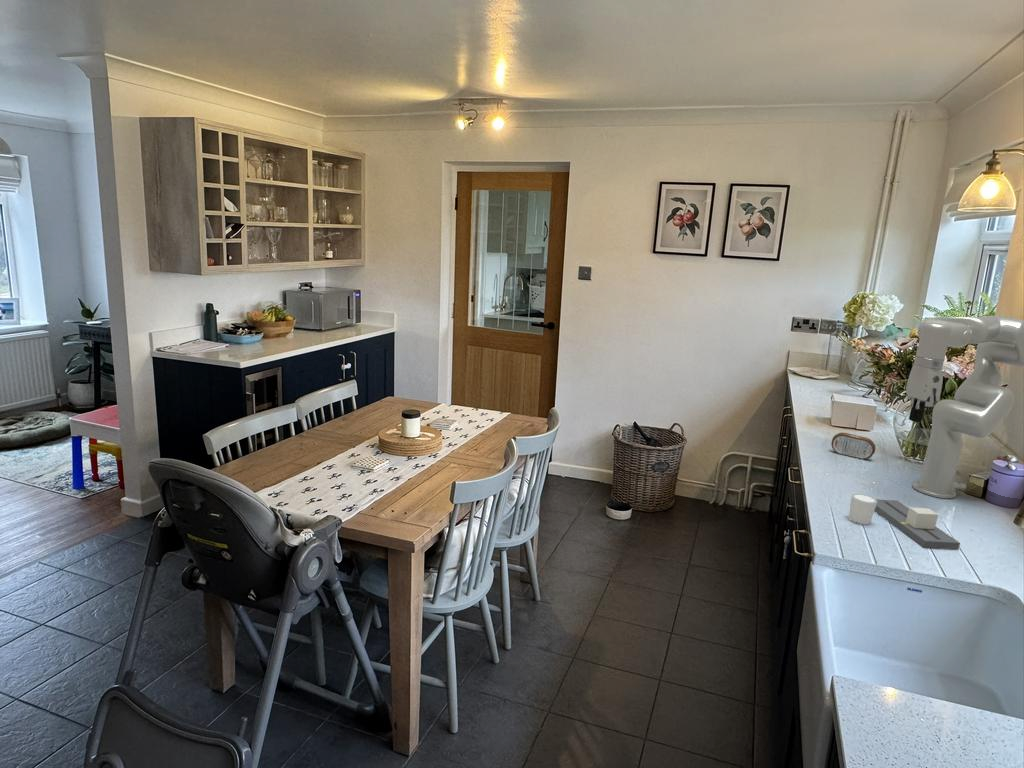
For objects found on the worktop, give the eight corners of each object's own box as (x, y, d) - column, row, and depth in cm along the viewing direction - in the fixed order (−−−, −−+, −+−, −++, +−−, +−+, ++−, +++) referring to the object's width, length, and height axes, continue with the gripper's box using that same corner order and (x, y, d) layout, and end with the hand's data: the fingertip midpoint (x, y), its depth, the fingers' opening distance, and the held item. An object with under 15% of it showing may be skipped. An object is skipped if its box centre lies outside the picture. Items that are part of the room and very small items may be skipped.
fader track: (865, 504, 212) (866, 498, 212) (895, 506, 213) (897, 500, 212) (923, 547, 185) (925, 540, 185) (958, 549, 186) (960, 542, 185)
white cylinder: (870, 518, 202) (875, 496, 200) (874, 527, 196) (879, 504, 194) (845, 513, 204) (850, 491, 202) (848, 522, 198) (853, 499, 196)
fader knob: (905, 521, 196) (909, 507, 195) (925, 522, 196) (929, 508, 195) (914, 528, 192) (918, 513, 191) (934, 529, 193) (938, 514, 192)
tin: (872, 460, 257) (877, 439, 255) (872, 462, 254) (876, 441, 252) (830, 450, 264) (834, 429, 262) (828, 452, 262) (833, 431, 260)
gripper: (957, 369, 200) (942, 429, 205) (924, 358, 214) (911, 414, 219) (933, 368, 199) (919, 427, 204) (901, 357, 214) (889, 413, 218)
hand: (915, 420), depth 211 cm, fingers closed
